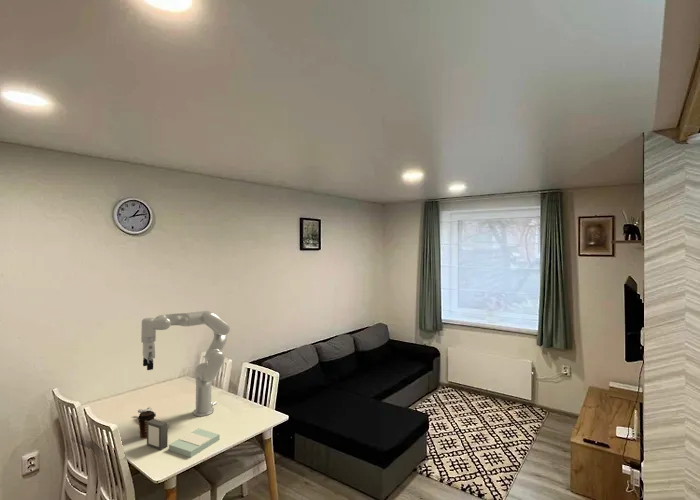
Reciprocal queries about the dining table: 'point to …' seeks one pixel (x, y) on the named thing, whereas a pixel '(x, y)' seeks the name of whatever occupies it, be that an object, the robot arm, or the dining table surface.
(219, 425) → the dining table surface
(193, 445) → the sage stand
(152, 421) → the picture frame
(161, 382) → the dining table surface
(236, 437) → the dining table surface
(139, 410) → the bunny figurine
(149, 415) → the coffee cup
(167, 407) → the dining table surface
